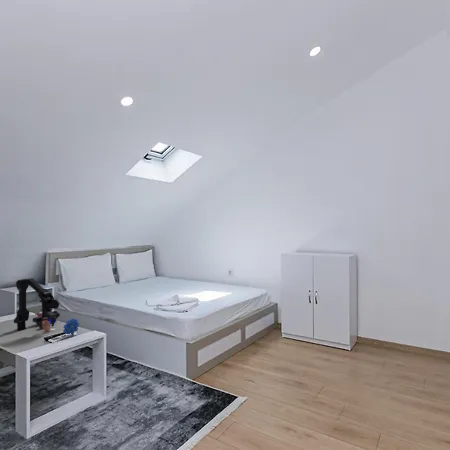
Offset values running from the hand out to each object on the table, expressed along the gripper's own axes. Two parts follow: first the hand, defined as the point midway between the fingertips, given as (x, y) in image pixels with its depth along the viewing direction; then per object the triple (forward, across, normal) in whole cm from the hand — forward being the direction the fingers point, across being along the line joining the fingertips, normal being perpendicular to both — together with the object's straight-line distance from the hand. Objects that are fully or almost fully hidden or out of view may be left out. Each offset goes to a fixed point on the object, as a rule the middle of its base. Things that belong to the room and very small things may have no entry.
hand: (47, 328), depth 265 cm
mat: (+3, +3, +9) cm, 10 cm away
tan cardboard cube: (+3, +5, +10) cm, 11 cm away
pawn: (+2, 0, 0) cm, 2 cm away
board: (+3, -4, 0) cm, 5 cm away
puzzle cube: (+3, +15, +23) cm, 28 cm away
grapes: (+3, +4, -23) cm, 24 cm away
